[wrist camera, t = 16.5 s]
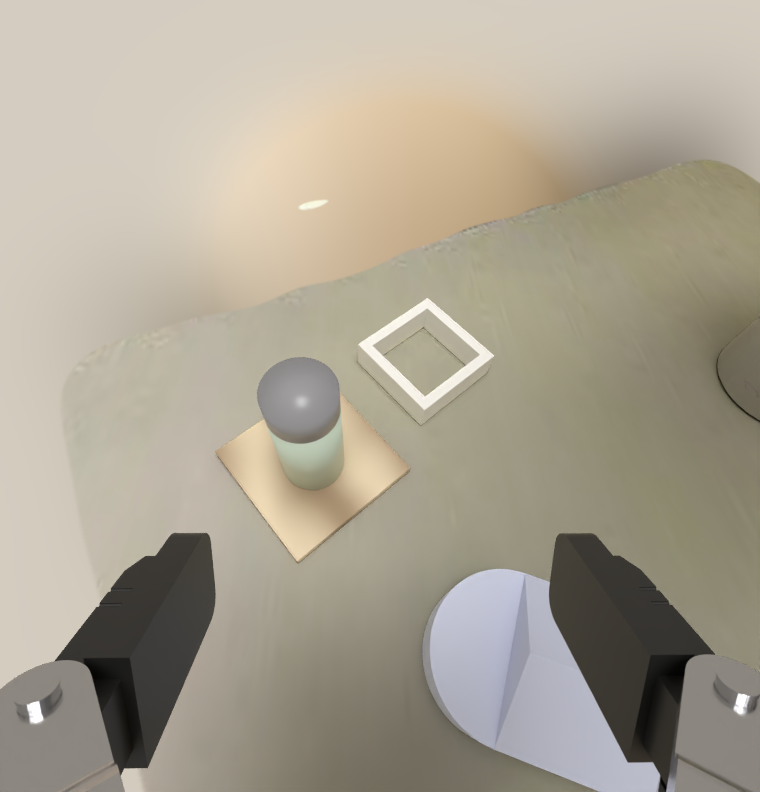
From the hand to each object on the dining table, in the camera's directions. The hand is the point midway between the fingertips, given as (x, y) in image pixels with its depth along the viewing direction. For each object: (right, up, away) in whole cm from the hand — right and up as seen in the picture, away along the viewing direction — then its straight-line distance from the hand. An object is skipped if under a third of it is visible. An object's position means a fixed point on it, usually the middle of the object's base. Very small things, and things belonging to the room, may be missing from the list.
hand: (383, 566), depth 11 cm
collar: (+3, +6, +29) cm, 29 cm away
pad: (-5, -1, +24) cm, 24 cm away
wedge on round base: (+9, -13, +18) cm, 24 cm away
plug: (-5, -1, +23) cm, 24 cm away
